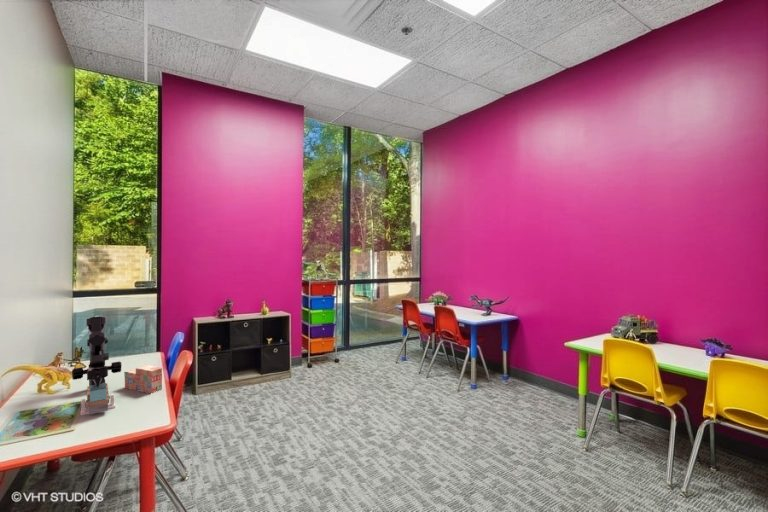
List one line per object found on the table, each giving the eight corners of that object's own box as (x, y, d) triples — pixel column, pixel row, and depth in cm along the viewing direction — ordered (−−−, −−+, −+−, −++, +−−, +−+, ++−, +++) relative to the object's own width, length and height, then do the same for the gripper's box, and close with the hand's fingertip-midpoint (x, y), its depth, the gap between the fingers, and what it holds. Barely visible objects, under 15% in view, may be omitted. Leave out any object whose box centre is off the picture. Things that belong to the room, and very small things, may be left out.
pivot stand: (80, 411, 174) (80, 399, 173) (114, 404, 182) (114, 392, 182) (80, 415, 170) (80, 402, 170) (115, 407, 178) (115, 395, 178)
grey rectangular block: (89, 385, 174) (89, 391, 167) (105, 382, 178) (106, 388, 171) (90, 396, 174) (90, 402, 167) (105, 393, 178) (106, 399, 171)
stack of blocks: (124, 388, 203) (124, 366, 203) (135, 384, 209) (135, 362, 209) (151, 394, 195) (151, 370, 195) (162, 389, 201) (162, 367, 201)
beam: (86, 397, 186) (86, 386, 185) (108, 392, 191) (108, 382, 191) (85, 415, 166) (85, 403, 166) (110, 409, 172) (110, 398, 172)
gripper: (71, 351, 172) (71, 380, 163) (121, 345, 184) (122, 372, 175) (72, 365, 178) (72, 393, 169) (120, 358, 190) (121, 384, 181)
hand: (97, 385), depth 173 cm, fingers closed, pressing on grey rectangular block
